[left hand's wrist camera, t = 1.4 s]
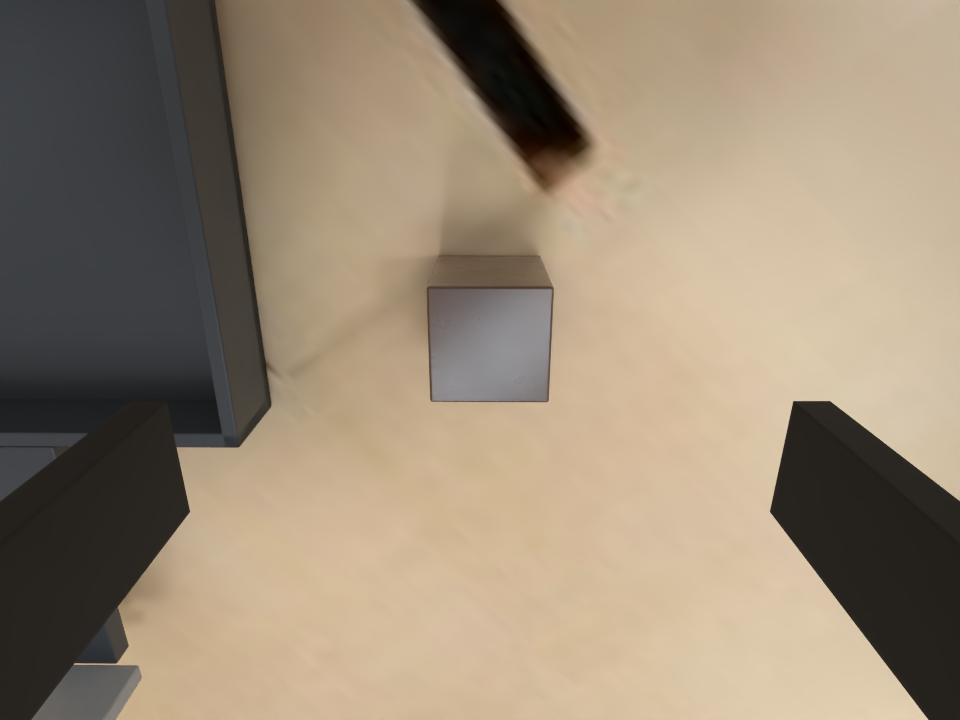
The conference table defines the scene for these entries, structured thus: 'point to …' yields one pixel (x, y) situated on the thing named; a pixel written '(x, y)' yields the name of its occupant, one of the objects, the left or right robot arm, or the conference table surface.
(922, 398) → the conference table surface
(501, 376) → the walnut block
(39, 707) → the left robot arm
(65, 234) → the pan
